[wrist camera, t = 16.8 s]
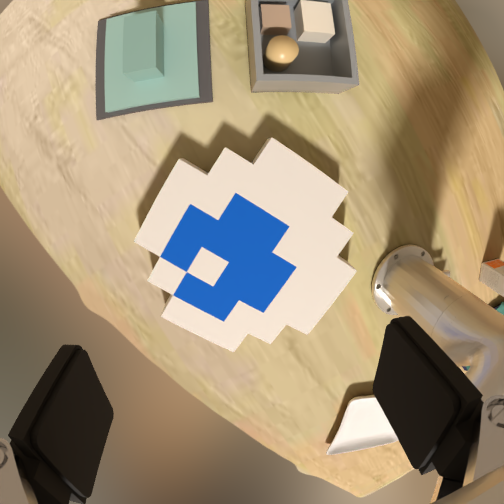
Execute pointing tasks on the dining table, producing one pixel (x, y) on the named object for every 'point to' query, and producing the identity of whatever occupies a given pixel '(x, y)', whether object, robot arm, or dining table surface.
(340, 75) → the storage box
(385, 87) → the dining table surface
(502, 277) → the skincare box
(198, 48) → the mat
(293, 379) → the dining table surface
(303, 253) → the pixel art tile
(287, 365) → the dining table surface
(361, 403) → the salad plate
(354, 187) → the dining table surface
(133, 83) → the lid
